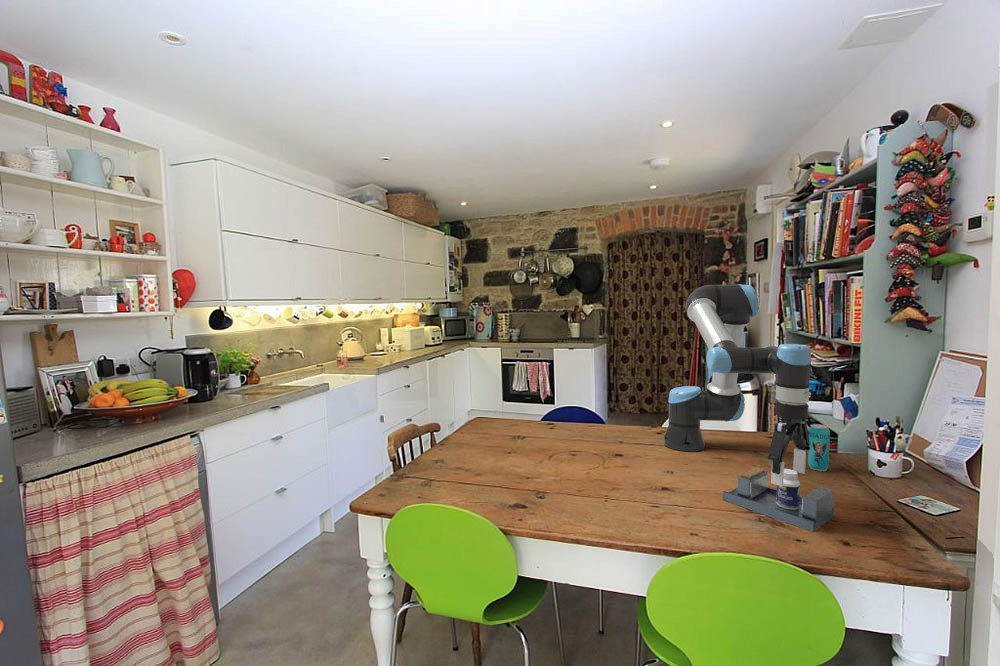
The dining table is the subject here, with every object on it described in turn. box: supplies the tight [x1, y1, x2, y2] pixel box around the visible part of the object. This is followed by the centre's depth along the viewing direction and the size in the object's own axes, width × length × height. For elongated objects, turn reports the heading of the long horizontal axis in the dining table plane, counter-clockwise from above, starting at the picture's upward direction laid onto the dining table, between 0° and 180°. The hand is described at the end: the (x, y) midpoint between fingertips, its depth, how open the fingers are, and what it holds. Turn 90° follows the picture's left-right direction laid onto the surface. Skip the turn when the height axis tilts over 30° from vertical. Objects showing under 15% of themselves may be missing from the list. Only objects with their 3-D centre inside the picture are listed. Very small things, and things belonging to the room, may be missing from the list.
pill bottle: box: [776, 468, 801, 510], centre depth 125 cm, size 5×5×10 cm
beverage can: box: [807, 423, 831, 472], centre depth 155 cm, size 6×6×15 cm
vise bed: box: [722, 485, 835, 533], centre depth 127 cm, size 23×14×8 cm, turn 36°
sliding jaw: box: [737, 466, 769, 500], centre depth 132 cm, size 3×11×7 cm, turn 126°
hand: (788, 478), depth 125 cm, fingers open, 13 cm apart
